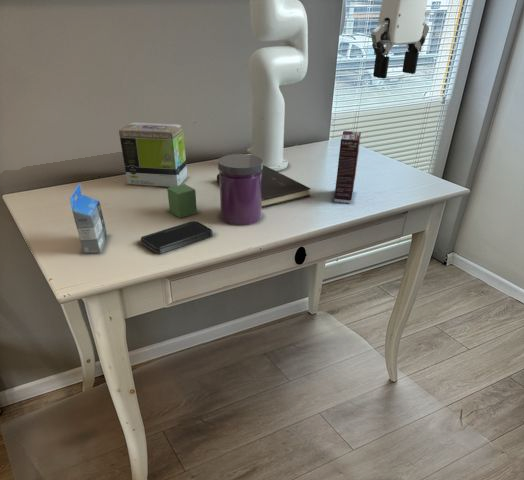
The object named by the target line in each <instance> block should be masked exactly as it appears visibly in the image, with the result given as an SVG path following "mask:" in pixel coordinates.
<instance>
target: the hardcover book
mask: <svg viewBox="0 0 524 480" xmlns="http://www.w3.org/2000/svg"><path fill="white" fill-rule="evenodd" d="M261 171H262V209H264V208H268V207H272V206H276V205H280V204H284V203H288V202H293V201H297V200H301V199H305V198H309V197H311V195H310V194H309V191H310V190H311V187H309V186H307V185H305V184H303V183H301V182H299V181H297V180H295V179H293V178H291V177H289V176H286V175H285V174H283V173H281V172H279V171H275V170H273V169H271V168H269V167H267V166H265V165H263V169H262V170H261ZM216 181H217V182H218V183H220V180H219V173H218V174H217V175H216Z"/></svg>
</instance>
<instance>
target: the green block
mask: <svg viewBox="0 0 524 480" xmlns="http://www.w3.org/2000/svg"><path fill="white" fill-rule="evenodd" d="M166 190H167V200H168V207H169V208H168V209H169V213H171V214H173V215H174V216H175V217H177V218H179V219H181V218H185V217H188V216H192V215H195V214H198V207H197V196H196V195H197V193H196V189H195V188H193V187H192V186H189V185H188V184H185V183H183V184H182V183H181V184H180V185H178V186H174V187H167V188H166Z"/></svg>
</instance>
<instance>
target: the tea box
mask: <svg viewBox="0 0 524 480" xmlns="http://www.w3.org/2000/svg"><path fill="white" fill-rule="evenodd" d="M118 134H119V140H120V141H119V142H120V146H121V147H120V148H121V152H122V159H123V165H124V170H125V171H124V172H125V175H126V176H125V178H126V182H127V183H126V184H127V185H135V186H151V187H167V188H170V187H174V186H178V185H182V183H183V182H184V181H186V179H187V178H188V169H187V168H188V167H187V156H186V145H185V134H184V125H183V123H168V122H167V123H166V122H165V123H164V122H143V121H142V122H141V121H140V122H139V121H131V122H130V123H129V124H127V125H125V126H123V127H122V128H120V129H119V130H118Z"/></svg>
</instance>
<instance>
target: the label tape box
mask: <svg viewBox="0 0 524 480" xmlns="http://www.w3.org/2000/svg"><path fill="white" fill-rule="evenodd" d="M69 202H70V206H71V207H70V208H71V211H72V215H73V219H74V223H75V226H76V231H77V233H78V238H79V242H80V244H81V249H82V252H83V254H100V253H102V250H103V248H104V245H105V242H106V239H107V237H108V233H107V227H106V225H105V219H104V214H103V210H102V207H101V203H100V200H98V199H96V198H93V197H90V196H87V195H85V194H82V188H81V182H80V183H78V185H77V186H76V188H75V189H74V191H72V194H71V196H70V198H69Z"/></svg>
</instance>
